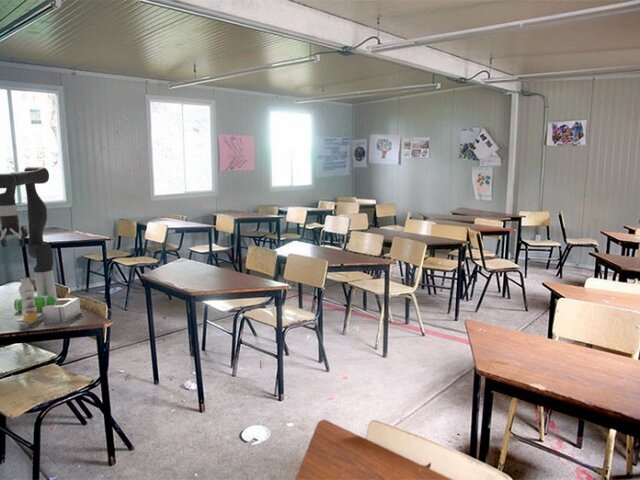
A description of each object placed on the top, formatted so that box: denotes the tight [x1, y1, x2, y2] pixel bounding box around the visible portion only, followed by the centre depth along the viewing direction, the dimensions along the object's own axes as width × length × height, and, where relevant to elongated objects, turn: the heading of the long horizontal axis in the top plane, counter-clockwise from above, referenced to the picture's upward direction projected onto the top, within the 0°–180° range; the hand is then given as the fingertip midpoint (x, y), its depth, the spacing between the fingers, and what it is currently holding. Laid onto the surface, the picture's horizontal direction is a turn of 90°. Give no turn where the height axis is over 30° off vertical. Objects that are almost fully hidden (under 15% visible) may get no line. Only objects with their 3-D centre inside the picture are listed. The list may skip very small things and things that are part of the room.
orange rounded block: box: [22, 310, 38, 325], centre depth 228 cm, size 8×3×7 cm, turn 1°
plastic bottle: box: [18, 277, 37, 316], centre depth 238 cm, size 6×7×20 cm
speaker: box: [13, 295, 56, 312], centre depth 253 cm, size 18×7×8 cm, turn 97°
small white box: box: [18, 297, 82, 330], centre depth 233 cm, size 23×18×8 cm
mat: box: [16, 312, 43, 323], centre depth 240 cm, size 10×8×1 cm
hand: (13, 246), depth 237 cm, fingers open, 8 cm apart
